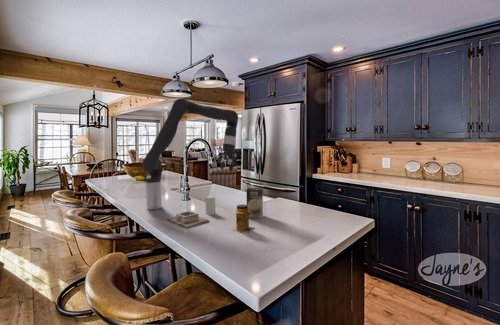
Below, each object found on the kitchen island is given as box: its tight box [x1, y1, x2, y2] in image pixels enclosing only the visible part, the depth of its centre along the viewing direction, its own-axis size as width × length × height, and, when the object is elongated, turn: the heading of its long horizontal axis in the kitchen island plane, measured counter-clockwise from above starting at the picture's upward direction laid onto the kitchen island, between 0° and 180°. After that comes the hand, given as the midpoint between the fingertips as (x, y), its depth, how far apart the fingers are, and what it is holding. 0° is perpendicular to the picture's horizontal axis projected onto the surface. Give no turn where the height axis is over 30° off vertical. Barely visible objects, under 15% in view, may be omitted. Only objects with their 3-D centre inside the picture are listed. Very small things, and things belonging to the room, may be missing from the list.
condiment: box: [233, 204, 255, 234], centre depth 127 cm, size 7×8×12 cm
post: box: [205, 195, 216, 216], centre depth 155 cm, size 4×4×10 cm
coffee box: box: [246, 187, 264, 219], centre depth 147 cm, size 9×6×16 cm
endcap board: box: [166, 210, 210, 229], centre depth 142 cm, size 20×14×4 cm
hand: (226, 169), depth 161 cm, fingers open, 8 cm apart
